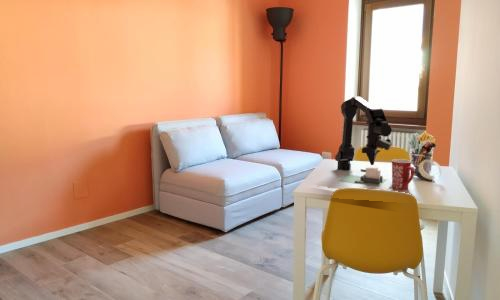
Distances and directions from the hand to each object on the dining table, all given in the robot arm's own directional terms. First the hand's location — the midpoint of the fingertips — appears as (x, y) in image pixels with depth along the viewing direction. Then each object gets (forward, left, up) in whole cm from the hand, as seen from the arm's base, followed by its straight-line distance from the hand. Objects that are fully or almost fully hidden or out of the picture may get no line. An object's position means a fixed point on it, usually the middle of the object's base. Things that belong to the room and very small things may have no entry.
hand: (372, 164), depth 203 cm
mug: (+15, -1, -10) cm, 18 cm away
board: (-4, 0, -10) cm, 11 cm away
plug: (0, 0, -8) cm, 9 cm away
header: (0, 0, -9) cm, 9 cm away
